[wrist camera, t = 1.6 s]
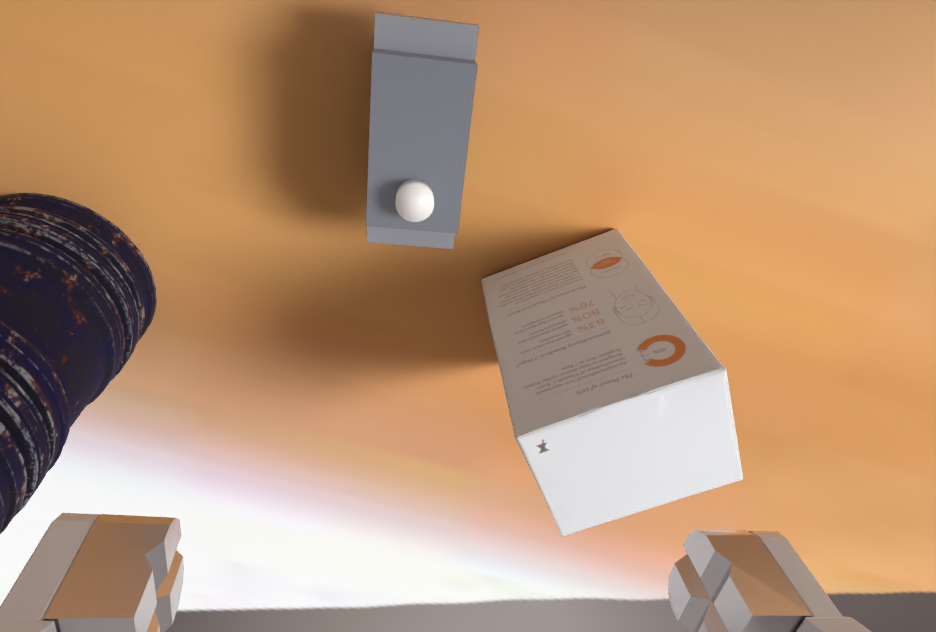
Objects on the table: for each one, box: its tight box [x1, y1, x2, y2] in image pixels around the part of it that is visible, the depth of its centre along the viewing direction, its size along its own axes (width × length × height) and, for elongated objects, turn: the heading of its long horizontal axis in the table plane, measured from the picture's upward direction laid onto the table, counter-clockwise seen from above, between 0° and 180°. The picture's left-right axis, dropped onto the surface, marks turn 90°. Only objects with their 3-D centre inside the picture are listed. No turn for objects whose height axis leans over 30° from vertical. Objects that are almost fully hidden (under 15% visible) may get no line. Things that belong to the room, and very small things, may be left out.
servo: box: [366, 12, 479, 249], centre depth 26 cm, size 4×10×6 cm, turn 173°
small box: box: [481, 229, 743, 536], centre depth 29 cm, size 8×6×13 cm
